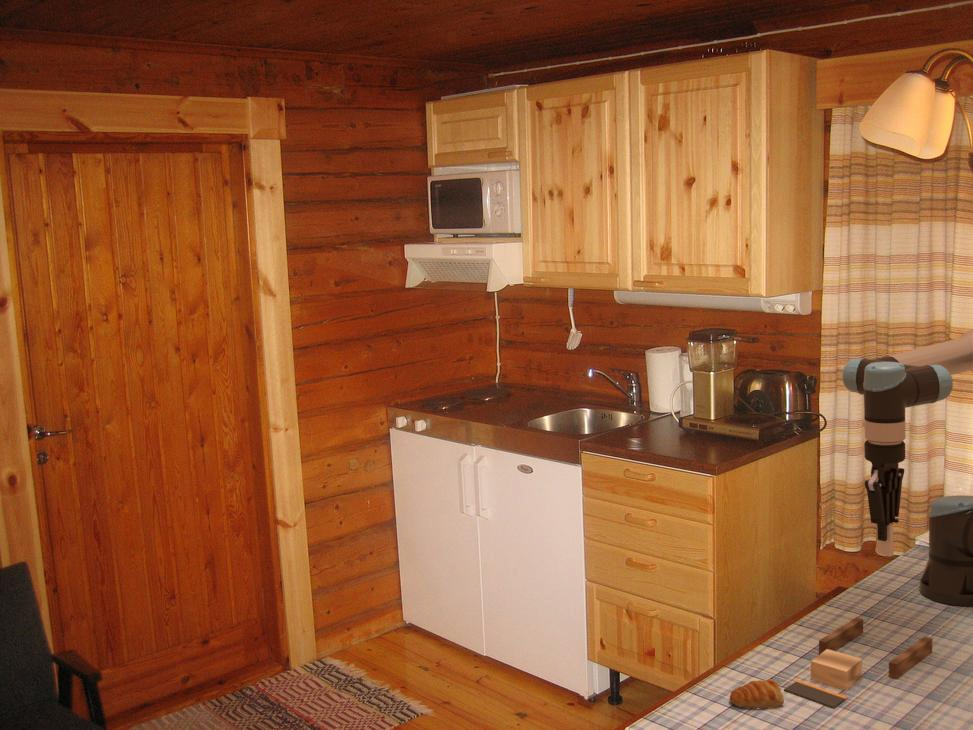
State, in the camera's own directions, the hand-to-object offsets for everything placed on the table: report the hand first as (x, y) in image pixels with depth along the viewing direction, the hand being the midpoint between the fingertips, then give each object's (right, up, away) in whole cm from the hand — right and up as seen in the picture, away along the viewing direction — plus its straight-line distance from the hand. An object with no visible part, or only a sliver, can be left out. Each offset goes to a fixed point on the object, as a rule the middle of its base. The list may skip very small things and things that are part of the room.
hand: (885, 554), depth 196 cm
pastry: (-30, -24, -16) cm, 42 cm away
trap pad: (-19, -23, -15) cm, 34 cm away
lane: (-1, -20, +1) cm, 20 cm away
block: (-13, -23, -9) cm, 27 cm away
